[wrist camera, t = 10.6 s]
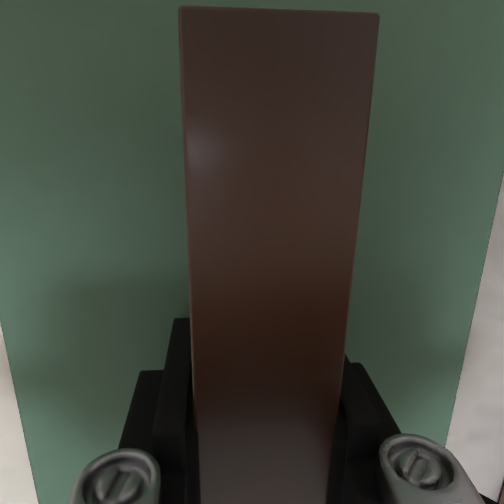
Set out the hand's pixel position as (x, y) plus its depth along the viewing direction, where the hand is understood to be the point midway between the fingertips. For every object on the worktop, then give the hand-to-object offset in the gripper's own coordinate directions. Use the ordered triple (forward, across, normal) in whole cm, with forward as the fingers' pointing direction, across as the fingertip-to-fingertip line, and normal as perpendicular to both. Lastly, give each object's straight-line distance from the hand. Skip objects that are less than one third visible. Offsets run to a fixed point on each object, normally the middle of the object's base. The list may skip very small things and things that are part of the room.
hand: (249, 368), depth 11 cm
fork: (-2, 0, +1) cm, 2 cm away
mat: (+1, 0, 0) cm, 1 cm away
